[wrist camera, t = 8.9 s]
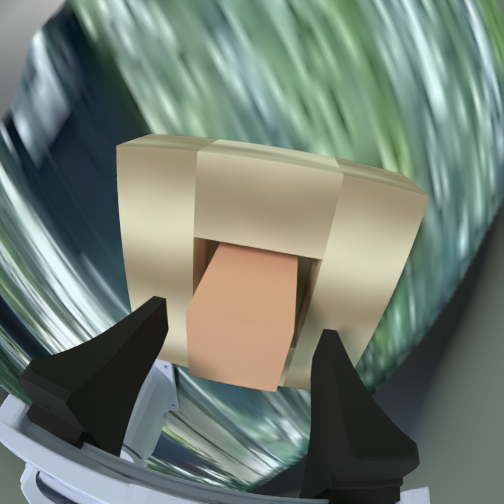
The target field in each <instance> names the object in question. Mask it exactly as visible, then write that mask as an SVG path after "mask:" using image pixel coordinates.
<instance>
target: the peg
mask: <svg viewBox="0 0 504 504" xmlns="http://www.w3.org/2000/svg"><path fill="white" fill-rule="evenodd" d="M297 265H298V255H294V254H289V253H283V252H277V251H272V250H266V249H261V248H255V247H249V246H244V245H238V244H233V243H227V242H221V243H220V244H219V246H218V248H217V250H216V252H215V254H214V256H213V258H212V260H211V262H210V264H209V266H208V268H207V270H206V272H205V274H204V276H203V278H202V280H201V282H200V284H199V286H198V288H197V290H196V292H195V294H194V296H193V298H192V300H191V302H190V304H189V306H188V308H187V310H186V312H185V315H186V334H187V350H188V365H189V375H192V376H196V377H200V378H205V379H209V380H214V381H218V382H223V383H228V384H233V385H238V386H243V387H248V388H254V389H260V390H266V391H272V392H276V389H277V386H278V383H279V380H280V377H281V374H282V370H283V367H284V364H285V361H286V357H287V354H288V351H289V347H290V344H291V341H292V337H293V334H294V323H295V306H296V287H297Z"/></svg>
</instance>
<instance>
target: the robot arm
mask: <svg viewBox="0 0 504 504" xmlns="http://www.w3.org/2000/svg"><path fill="white" fill-rule="evenodd" d="M168 331H169V326H168V315H167V302H166V298H162V297H158V296H153V297H152V298H150V299H149V300H148V301H146V302H145V303H144V304H142V305H141V306H140V307H139V308H137V309H136V310H135V311H133V312H132V313H131V314H129V315H128V316H127V317H125V318H124V319H123V320H121V321H120V322H118V323H117V324H115V325H114V326H112V327H111V328H109V329H108V330H106V331H105V332H103V333H102V334H100V335H98V336H96V337H94V338H93V339H91V340H89V341H87V342H85V343H82V344H80V345H78V346H76V347H73V348H71V349H69V350H66V351H63V352H60V353H57V354H54V355H51V356H47V357H43V358H39V359H34V360H32V361H31V362H30V363H29V365H28V366H27V367H26V369H25V370H24V372H23V373H22V374H21V376H20V377H19V379H18V381H19V384H20V386H21V388H22V389H23V391H24V392H25V393H26V395H27V396H28V397H29V399H30V400H31V401H32V403H33V404H32V406H31V407H29V406H28V405H27V404H25V403H24V402H23V401H21V400H20V399H18V398H17V397H15V396H14V395H12V394H9V395H8V397H7V398H6V400H5V401H4V403H3V404H2V406H1V407H0V442H1V443H3V444H4V445H5V446H6V447H7V448H8V449H10V450H11V451H12V452H13V453H14V454H16V455H17V456H18V457H20V458H21V459H23V460H24V461H25V462H27V463H26V465H25V466H26V469H25V471H24V473H23V475H22V477H21V479H20V481H21V483H22V485H21V490H22V492H23V494H24V495H25V497H26V499H27V500H28V502H29V504H208V503H212V504H430V499H429V488H428V487H421V488H414V489H408V490H404V491H401V492H400V486H402V484H403V478H402V477H404V476H406V475H407V474H409V473H410V472H412V471H413V470H414V469H416V468H417V467H418V465H419V464H420V462H419V454H418V449H417V445H416V443H415V442H414V441H413V440H411V439H410V438H409V437H407V435H405V434H404V433H403V432H402V431H401V430H400V429H399V428H398V427H397V426H396V425H395V424H394V423H393V422H392V421H391V420H390V419H389V418H388V417H387V416H386V414H385V413H384V412H383V411H382V410H381V408H380V407H379V406H378V405H377V403H376V402H375V401H374V399H373V398H372V396H371V395H370V393H369V392H368V390H367V389H366V387H365V386H364V384H363V382H362V381H361V379H360V377H359V376H358V374H357V372H356V370H355V368H354V366H353V364H352V362H351V360H350V358H349V356H348V354H347V352H346V350H345V348H344V345H343V343H342V341H341V338H340V336H339V334H338V332H337V330H331V329H323V331H322V334H321V337H320V339H319V342H318V344H317V347H316V349H315V352H314V354H313V357H312V364H311V376H310V384H311V431H310V440H309V448H308V455H307V462H306V468H305V473H304V479H303V484H302V488H301V493H300V497H299V498H286V497H275V496H266V495H258V494H251V493H245V492H239V491H233V490H227V489H222V488H217V487H213V486H208V485H204V484H200V483H196V482H192V481H188V480H184V479H181V478H177V477H174V476H170V475H167V474H164V473H161V472H158V471H154V470H151V469H149V468H147V466H148V463H147V462H145V461H144V460H145V459H147V458H148V457H149V456H150V455H151V454H152V453H153V451H154V449H155V446H156V444H157V441H158V438H159V436H160V433H161V430H162V428H163V425H164V423H165V420H166V417H167V415H168V412H169V410H171V411H175V412H177V411H179V403H178V397H177V390H176V383H175V375H174V367H173V363H170V362H166V361H163V360H159V359H156V358H157V357H158V355H159V353H160V351H161V349H162V347H163V344H164V341H165V339H166V336H167V333H168ZM154 488H157V489H160V490H163V491H166V492H169V493H166V492H163V491H160V490H157V489H154ZM170 493H173V494H176V495H173V494H170ZM177 495H180V496H183V497H180V496H177ZM184 497H187V498H184ZM188 498H191V499H188ZM192 499H195V500H192ZM196 500H199V501H203V502H199V501H196ZM204 502H208V503H204Z"/></svg>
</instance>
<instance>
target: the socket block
mask: <svg viewBox="0 0 504 504" xmlns="http://www.w3.org/2000/svg"><path fill="white" fill-rule="evenodd" d="M117 182H118V201H119V215H120V226H121V237H122V246H123V255H124V263H125V270H126V277H127V284H128V291H129V297H130V303H131V309H132V312H133V311H135V310H136V309H137V308H139V307H140V306H141V305H142V304H144V303H145V302H146V301H148V300H149V299H150V298H152V297H153V296H158V297H162V298H166V302H167V315H168V326H169V331H168V333H167V336H166V339H165V341H164V344H163V347H162V349H161V351H160V353H159V355H158V357H157V358H156V359H159V360H163V361H166V362H170V363H174V364H177V365H181V366H185V367H189V365H188V350H187V334H186V315H185V312H186V310H187V308H188V306H189V304H190V302H191V300H192V298H193V296H194V294H195V292H196V290H197V288H198V286H199V284H200V282H201V280H202V278H203V276H204V274H205V272H206V270H207V268H208V266H209V264H210V262H211V260H212V258H213V256H214V254H215V252H216V250H217V248H218V246H219V244H220V243H221V242H227V243H233V244H238V245H244V246H249V247H255V248H261V249H266V250H272V251H277V252H283V253H289V254H294V255H298V265H297V287H296V306H295V323H294V334H293V337H292V341H291V344H290V347H289V351H288V354H287V357H286V361H285V364H284V367H283V370H282V374H281V377H280V380H279V383H278V386H283V387H290V388H297V389H305V390H311V384H310V376H311V364H312V357H313V354H314V352H315V349H316V347H317V344H318V342H319V339H320V337H321V334H322V331H323V329H331V330H337V332H338V334H339V336H340V338H341V341H342V343H343V345H344V348H345V350H346V352H347V354H348V356H349V358H350V360H351V362H352V364H353V366H354V368H355V367H356V365H357V363H358V361H359V359H360V358H361V356H362V354H363V352H364V350H365V348H366V347H367V345H368V343H369V341H370V339H371V337H372V335H373V333H374V331H375V329H376V327H377V325H378V323H379V321H380V319H381V317H382V315H383V313H384V311H385V309H386V307H387V305H388V302H389V300H390V298H391V296H392V294H393V291H394V289H395V287H396V285H397V282H398V280H399V278H400V275H401V273H402V270H403V268H404V266H405V263H406V261H407V258H408V256H409V253H410V251H411V248H412V245H413V243H414V240H415V237H416V234H417V232H418V229H419V226H420V223H421V220H422V217H423V214H424V211H425V208H426V205H427V202H428V199H429V196H428V195H427V194H426V193H425V192H424V191H422V190H421V189H420V188H419V187H418V186H417V185H416V184H415V183H413V182H412V181H411V180H410V179H409V178H408V177H406V176H405V175H402V174H399V173H395V172H392V171H388V170H384V169H380V168H376V167H372V166H368V165H364V164H360V163H356V162H352V161H347V160H343V159H338V158H333V157H329V156H324V155H319V154H314V153H308V152H303V151H297V150H292V149H286V148H280V147H274V146H267V145H260V144H253V143H246V142H238V141H230V140H221V139H211V138H201V137H189V136H176V135H159V134H149V135H146V136H143V137H140V138H137V139H134V140H131V141H128V142H126V143H123V144H120V145H117Z"/></svg>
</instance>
